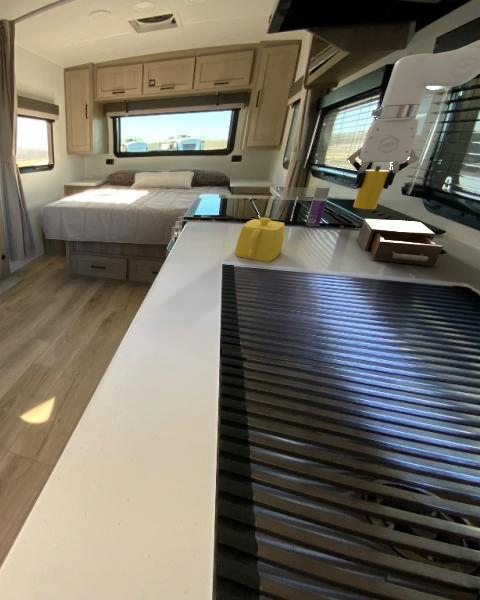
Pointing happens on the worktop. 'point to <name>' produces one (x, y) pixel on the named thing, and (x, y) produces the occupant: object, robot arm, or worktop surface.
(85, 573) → the worktop surface
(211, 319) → the worktop surface
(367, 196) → the yellow cylinder
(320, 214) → the container
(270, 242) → the teapot
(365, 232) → the cabinet
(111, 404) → the worktop surface
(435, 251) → the drawer
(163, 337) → the worktop surface
